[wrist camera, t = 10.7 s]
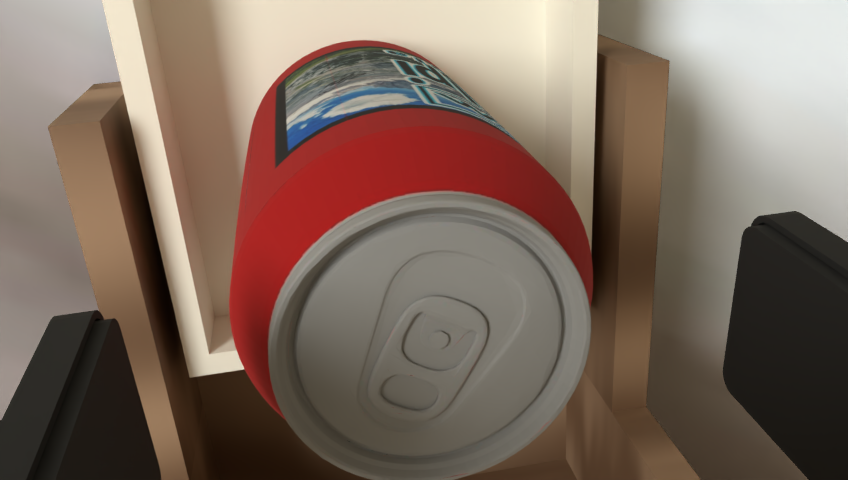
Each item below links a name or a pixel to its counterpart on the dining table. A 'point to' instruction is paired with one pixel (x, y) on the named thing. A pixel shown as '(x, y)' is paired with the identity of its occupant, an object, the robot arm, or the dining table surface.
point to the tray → (275, 52)
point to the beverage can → (404, 270)
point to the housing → (267, 430)
